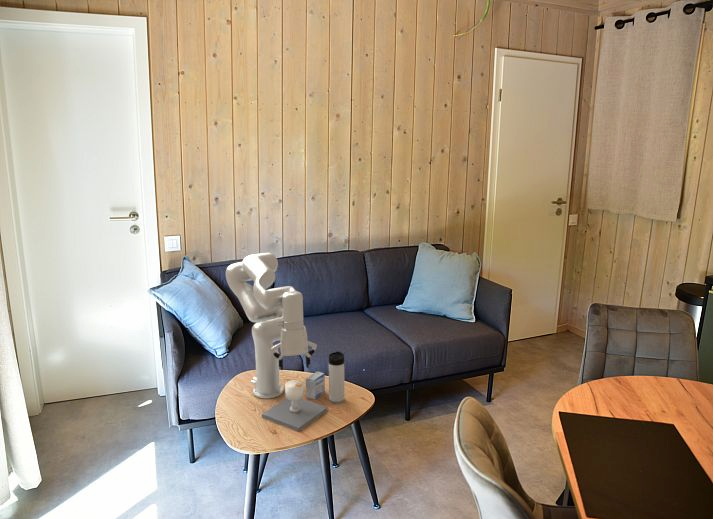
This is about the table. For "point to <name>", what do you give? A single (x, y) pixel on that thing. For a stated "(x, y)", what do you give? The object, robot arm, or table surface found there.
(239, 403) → the table surface
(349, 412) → the table surface
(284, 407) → the post base
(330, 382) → the travel mug
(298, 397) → the cap
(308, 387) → the medicine box
